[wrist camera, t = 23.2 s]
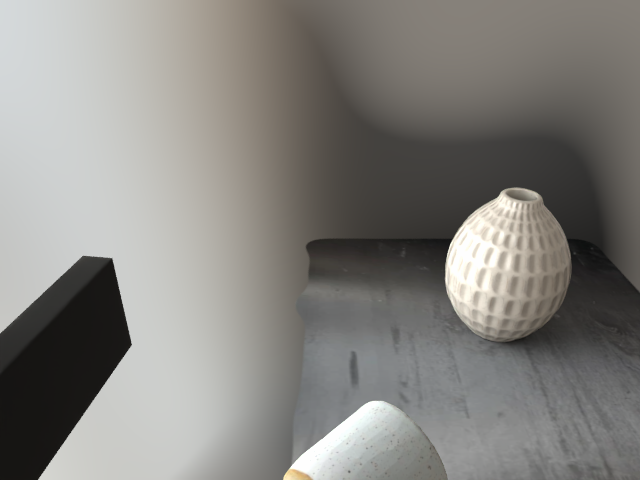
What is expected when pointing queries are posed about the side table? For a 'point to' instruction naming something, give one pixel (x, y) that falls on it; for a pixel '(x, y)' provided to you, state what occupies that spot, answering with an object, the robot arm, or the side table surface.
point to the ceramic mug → (371, 450)
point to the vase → (508, 267)
